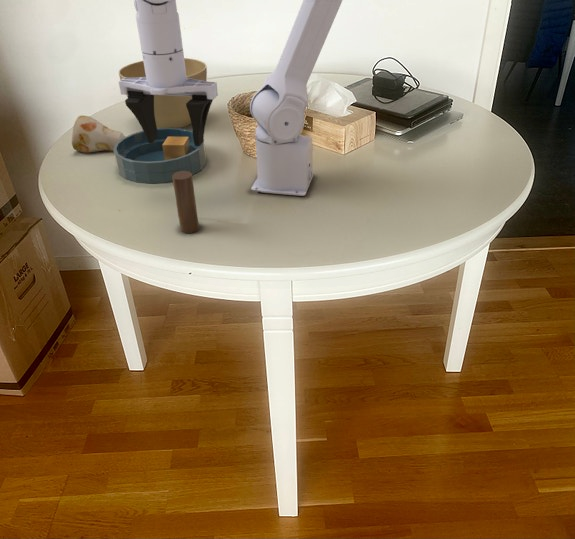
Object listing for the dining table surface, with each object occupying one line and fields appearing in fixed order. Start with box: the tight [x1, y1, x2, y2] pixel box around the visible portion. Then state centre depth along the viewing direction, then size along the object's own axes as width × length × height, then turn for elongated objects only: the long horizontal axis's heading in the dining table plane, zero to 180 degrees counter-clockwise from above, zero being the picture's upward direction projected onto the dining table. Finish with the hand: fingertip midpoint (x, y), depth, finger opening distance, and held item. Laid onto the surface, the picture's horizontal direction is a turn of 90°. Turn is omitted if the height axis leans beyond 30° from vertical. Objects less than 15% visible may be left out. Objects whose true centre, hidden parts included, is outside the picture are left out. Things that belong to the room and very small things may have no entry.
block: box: [163, 137, 191, 160], centre depth 99 cm, size 4×4×4 cm
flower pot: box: [118, 57, 208, 129], centre depth 114 cm, size 18×18×12 cm
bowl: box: [112, 128, 207, 184], centre depth 98 cm, size 16×16×4 cm
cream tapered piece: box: [71, 115, 126, 154], centre depth 104 cm, size 8×10×10 cm
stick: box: [172, 171, 200, 234], centre depth 78 cm, size 3×3×9 cm
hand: (175, 142), depth 82 cm, fingers open, 7 cm apart
